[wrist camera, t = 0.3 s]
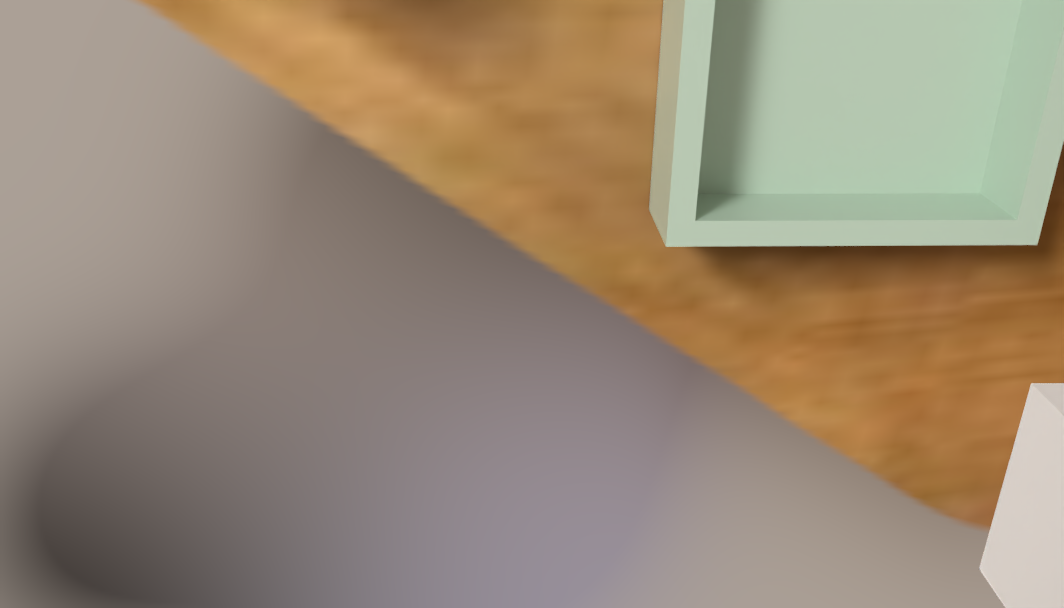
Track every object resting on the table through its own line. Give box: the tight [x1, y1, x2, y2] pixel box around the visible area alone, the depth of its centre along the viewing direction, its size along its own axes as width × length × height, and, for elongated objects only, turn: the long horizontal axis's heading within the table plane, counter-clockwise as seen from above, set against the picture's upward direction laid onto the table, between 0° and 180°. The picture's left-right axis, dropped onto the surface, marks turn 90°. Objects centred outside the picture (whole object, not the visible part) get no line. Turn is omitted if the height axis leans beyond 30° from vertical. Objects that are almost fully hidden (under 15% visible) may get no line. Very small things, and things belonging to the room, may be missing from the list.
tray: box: [649, 0, 1064, 247], centre depth 35 cm, size 16×14×4 cm
